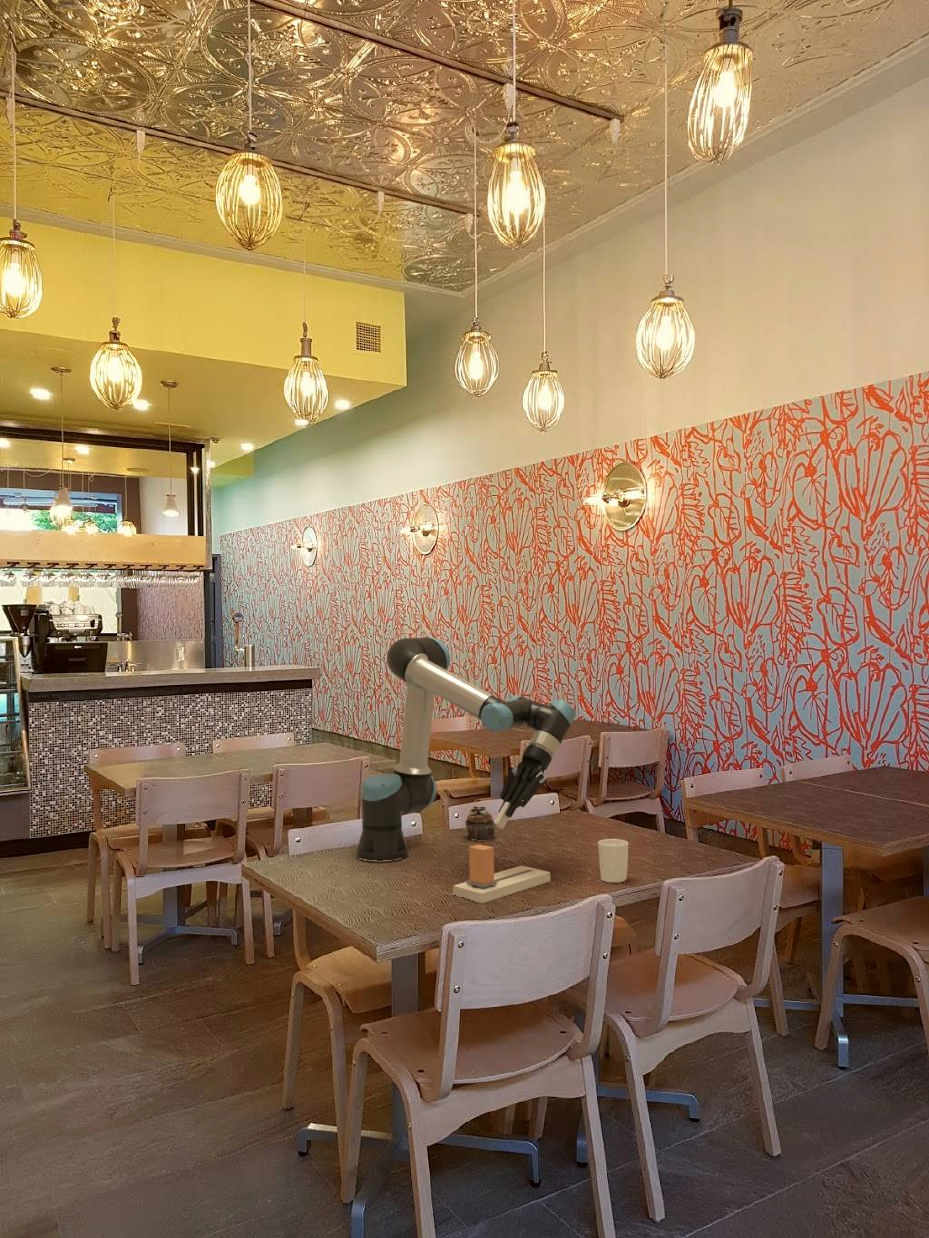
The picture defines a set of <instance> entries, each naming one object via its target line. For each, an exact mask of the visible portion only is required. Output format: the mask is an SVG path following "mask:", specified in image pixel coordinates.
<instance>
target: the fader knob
mask: <svg viewBox="0 0 929 1238" xmlns="http://www.w3.org/2000/svg"><path fill="white" fill-rule="evenodd" d="M468 849H469V851H468V852H469V855H468V857H469V860H468V861H469V879H468V880H466V881H465V882H466V883H467V884H471V885H475V886H478V887H482V888H485V887H488V886H492V885H495V884H497V881H494V874H495V860H494V859H495V858H494V857H495V856H494V854H495V853H494V851H495V850H494V849H495V848H494V847H493V846H488V845H483V844H480V843H479V844H475V845H471V846H469V847H468Z"/></svg>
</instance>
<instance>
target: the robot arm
mask: <svg viewBox="0 0 929 1238" xmlns="http://www.w3.org/2000/svg"><path fill="white" fill-rule="evenodd" d="M450 655H451V654H450V651H449V649H448V647H447V646H446V645H445V643H444V642H443V641H442V640H440V639H438V638H434V637H411V638H410V637H405V638H404V637H403V638H400V639H398V640H396V641H395V642H393V643H392V644H391V645H390V647H389V648H388V651H387V654H386V663H387V667H388V669H389V670H390V672H391V673H392V674H393V675H394V676H395V677H397V678H398V679H400V680H401V681H403V682H404V683H405V684H406V696H405V703H404V704H405V706H404V716H403V725H402V736H401V746H400V753H399V754H400V755H399V756H400V757H399V762H398V763H397V764H396V765H394V767H393V773H381V774H376V775H372V776H369V777H367V778H366V779H364V780H363V782H362V784H361V821H362V822H361V823H362V829H361V835H360V838H359V842H358V845H357V847H356V858H357V857H358V858H362V859H367V860H377V861H383V860H394V859H399V858H404V857H406V856H407V855H408V856H409V847H408V844H407V841H406V838H405V835H404V832H403V827H402V825H403V823H402V822H403V819H402V817H403V816H406V815H411V814H413V813H419V812H422V811H423V810H425V809H427V808H429V807H430V806H431V805H432V804H433V802H434V801H435V799H436V796H437V791H438V790H437V789H438V787H437V783H436V781H435V778H434V776H433V775H432V769H431V768H430V767H429V764H428V761H429V753H430V752H429V751H430V741H431V735H432V734H431V731H432V723H433V722H432V721H433V714H434V713H433V712H434V705H435V704H434V701H435V696H438V697H439V698H441V699H443V700H445V701H446V702H449V703H450V704H452V705H454V707H455V706H456V707H457V708H459V709H461V710H462V711H465V712H467V713H468V714H469V715H471V716H473V717H475V718H476V719H479V720H481V723H482V725H483V726H484V728H485V729H486V730H488V731H490V732H504V731H507V730H512V729H518V728H523V727H526V728H530V729H532V730H536V731H535V732H534V734H533V736H532V737H531V739H530V741H529V745H527V746H526V748H525V750H524V751H523V753H522V755H521V757H522V759H521V761H520V762H519V763H518V764H517V765H516V766H515V767H512V766H508V769H507V775H506V779H505V781H504V783H503V787H502V790H501V792H500V795H499V797H500V799H501V800H502V801H503V802H502V803H501V804H502V805H500V808H499V810H498V814H497V815H496V817H495V819H494V820H493V821H494V824H495V827H497V828H498V829H501V830H503V829H505V827H506V825H507V823H508V821H509V819H510V818H512V817H513V815H514V813H515V812H516V810H517V809H518V808H519V807H521V808H525V806H526V805H527V804H528V803H529V802H530V801H531V799H532V798H533V797H534V795H535V794H536V793H537V792H538V791H539V790H540V789H541V787H542V786H543V785H545V784H546V783H547V782H548V779H547V778H546V776H545V775H544V772H545V771H546V770H547V769H548V768H549V766H550V764H551V762H552V761H553V760H552V758H554V757H555V754H556V753H557V751H558V750H559V748H560V747H561V744H562V742H563V740H564V738H565V737H566V735H567V733H569V730H570V728H571V727H572V725H573V723H574V720H575V718H576V716H577V711H576V710H575V708H574V706H572V704H570V703H569V702H567V701H566V700H562V699H554V700H553V701H552V703H550V705H548V704H543V703H542V702H538V701H535V700H532V699H529V698H527V697H525V696H520V695H516V694H515V695H511V696H510V697H509V698H507V700H506V701H505V700H502V699H501V698H498V697H497V696H495V695H494V694H491V693H489V691H487V690H485V689H482V688H481V687H478V686H477V685H475V684H473V683H471V682H469V681H467V680H465V679H464V678H462V677H460V676H458V675H456V674H455V673H453V672H450V671H449V670H448V669H449V668H450V664H451V656H450ZM408 856H407V857H408ZM407 857H406V858H407ZM358 858H357V859H358ZM404 859H405V858H404Z"/></svg>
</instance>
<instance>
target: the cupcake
mask: <svg viewBox="0 0 929 1238" xmlns="http://www.w3.org/2000/svg"><path fill="white" fill-rule="evenodd" d="M494 821H495V820H493V816H492V815H491V813H490V812H489V810H488V809H486V807H485V806H481V807H478V806H476V805H475V806H473V807H472V809H470V811H469V813H468V815H467V819H466V820H465V826H466V827H465V828H466V832H467V835H468V836H467V837H468V839H469V838H470V839H476V840H489V839H492V840H493V839H494V836H495V829H496V825H495V824H494ZM470 839H469V840H470ZM489 841H490V840H489Z"/></svg>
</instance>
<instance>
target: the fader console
mask: <svg viewBox="0 0 929 1238" xmlns="http://www.w3.org/2000/svg"><path fill="white" fill-rule="evenodd" d="M494 881H497V884H495V885H492V886H488V887H485V888H482V887H478V886H475V885H471V884H467V883H466V881H465V882H460V883H457V884H453V885H452V888H453V889H452V891H453V892H452V893H453V894H452V895H453V896H454V895H456V896H455V897H457V896H458V898H461V897H464V898H463V899H465V898H467V899H466V900H468V899H470V900H469V901H472V900H473V901H472V902H476V903H479V904H484V903H488V902H491V901H494V900H497V899H500V898H504V897H506V896H510V895H512V894H515V893H518V892H521V891H524V890H528V889H531V888H534V887H537V886H540V885H544V884H546V883H549V882H551V871H547V870H542V869H540V868H539V869H538V868H534V867H529V866H526V865H518V866H515V867H512V868H508V869H505V870H502V871H499V872H494Z"/></svg>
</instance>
